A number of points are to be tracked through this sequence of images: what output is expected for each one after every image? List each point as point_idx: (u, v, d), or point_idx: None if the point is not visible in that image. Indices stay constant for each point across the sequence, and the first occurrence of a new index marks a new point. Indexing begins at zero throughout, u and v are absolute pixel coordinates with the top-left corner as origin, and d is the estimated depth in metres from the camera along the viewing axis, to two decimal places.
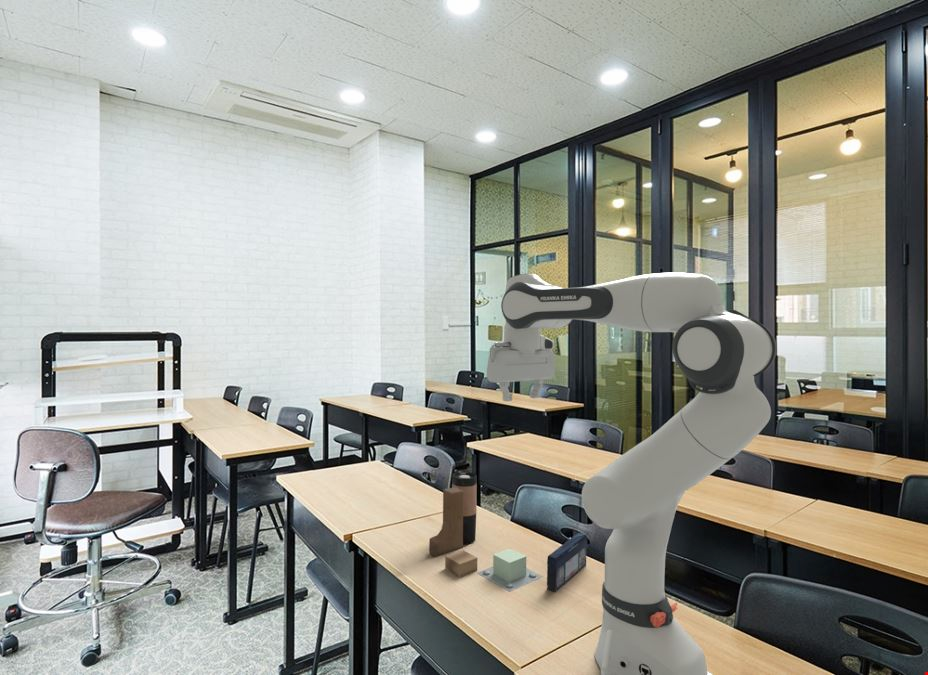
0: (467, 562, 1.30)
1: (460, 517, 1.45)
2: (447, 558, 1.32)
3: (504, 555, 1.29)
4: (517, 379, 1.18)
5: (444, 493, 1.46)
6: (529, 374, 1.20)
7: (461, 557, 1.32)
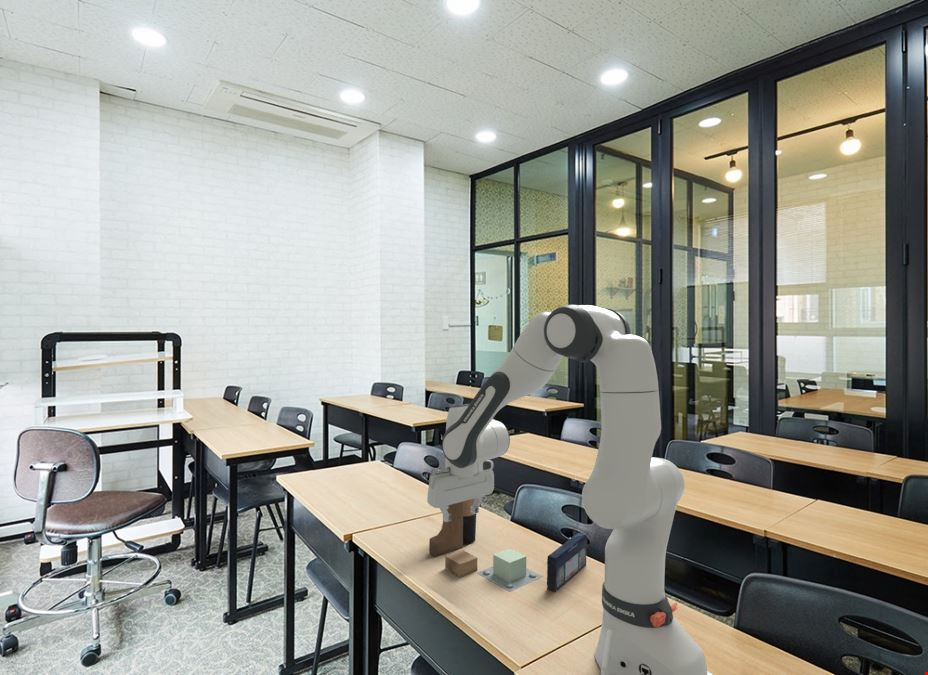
0: (467, 562, 1.30)
1: (460, 517, 1.45)
2: (447, 558, 1.32)
3: (504, 555, 1.29)
4: (455, 502, 1.29)
5: None
6: (468, 494, 1.31)
7: (461, 557, 1.32)
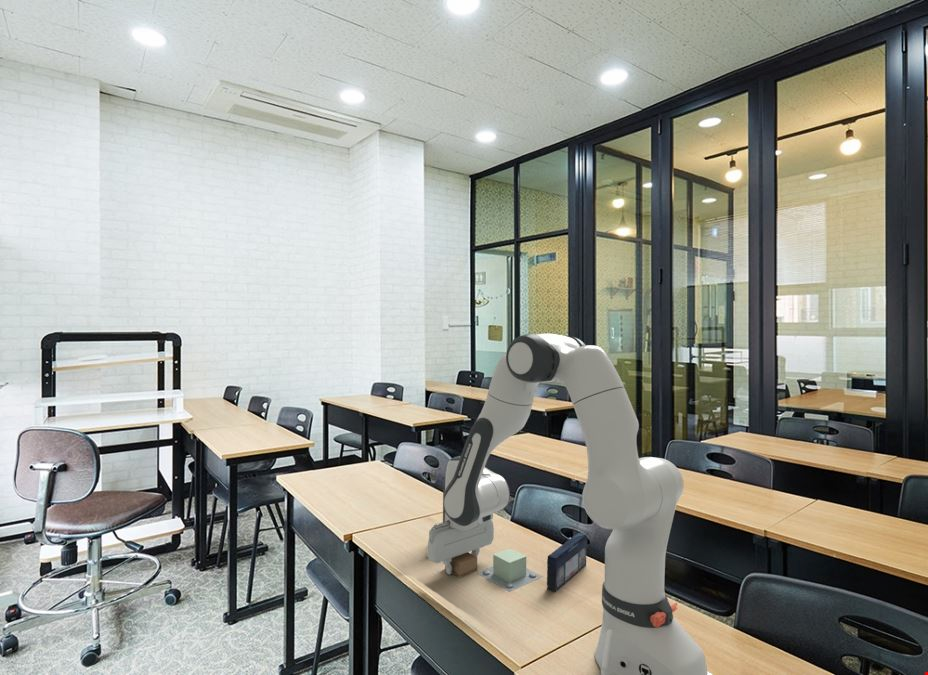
0: (467, 561, 1.30)
1: None
2: None
3: (504, 555, 1.29)
4: (455, 555, 1.29)
5: None
6: (467, 546, 1.31)
7: (461, 556, 1.32)
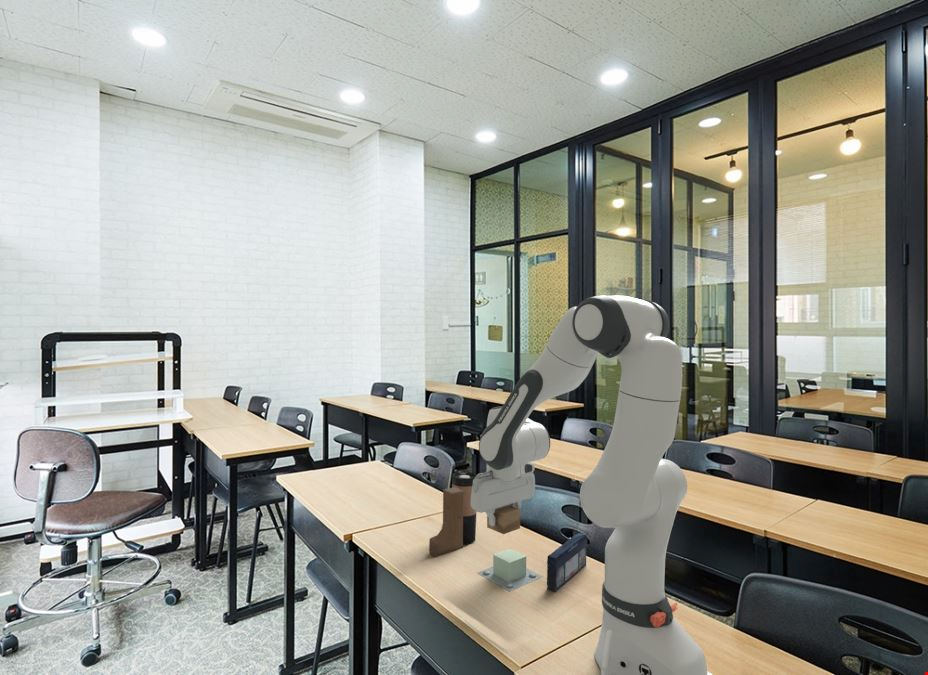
0: (510, 512, 1.27)
1: (460, 517, 1.45)
2: None
3: (504, 555, 1.29)
4: (499, 506, 1.26)
5: (444, 493, 1.46)
6: (510, 498, 1.29)
7: (503, 508, 1.29)
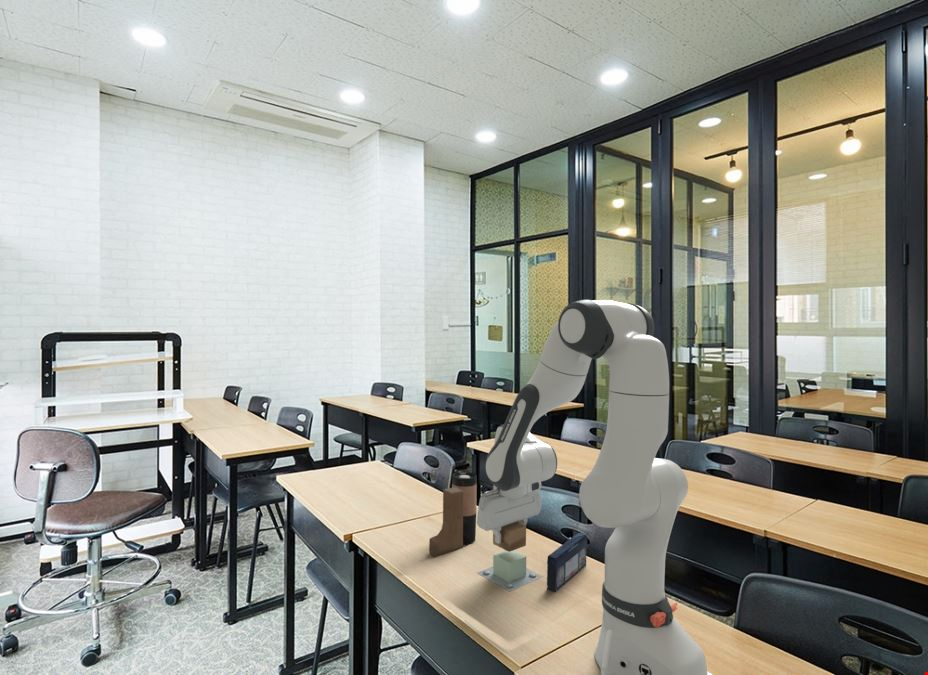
0: (516, 530, 1.27)
1: (460, 517, 1.45)
2: None
3: (504, 555, 1.29)
4: (505, 524, 1.26)
5: (444, 493, 1.46)
6: (517, 516, 1.29)
7: (509, 525, 1.29)
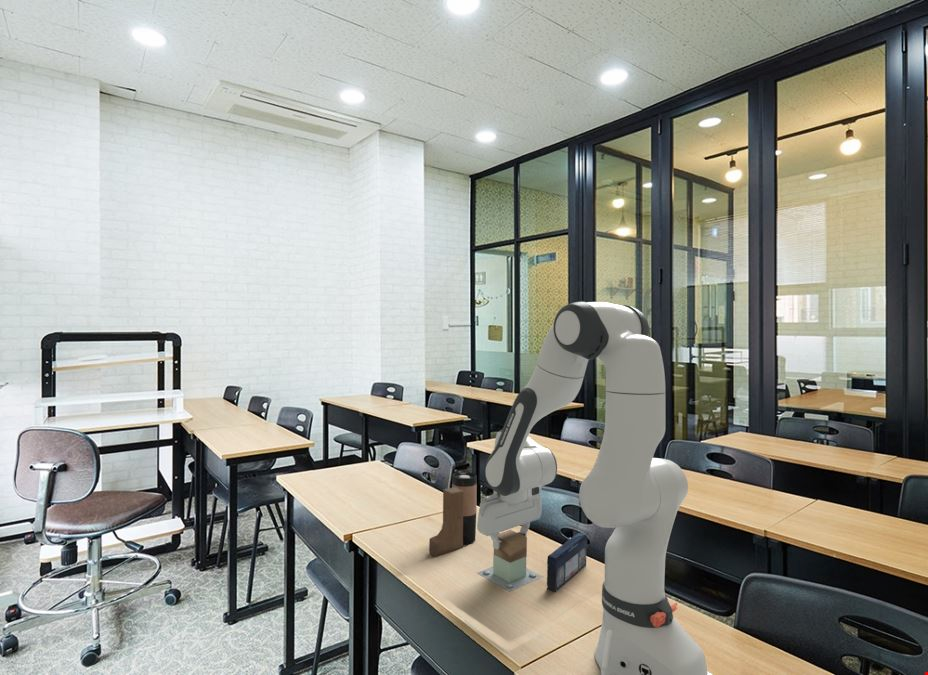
0: (517, 541, 1.27)
1: (460, 517, 1.45)
2: None
3: None
4: (505, 529, 1.26)
5: (444, 493, 1.46)
6: (517, 520, 1.29)
7: (510, 536, 1.29)
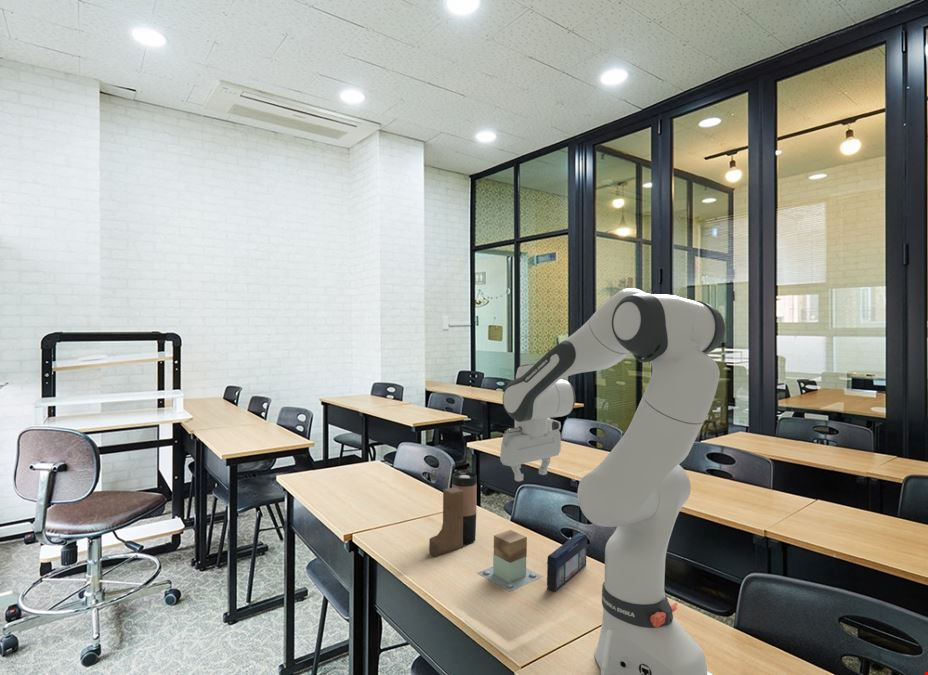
0: (517, 541, 1.27)
1: (460, 517, 1.45)
2: (496, 537, 1.29)
3: None
4: (527, 461, 1.29)
5: (444, 493, 1.46)
6: (538, 454, 1.31)
7: (510, 536, 1.29)
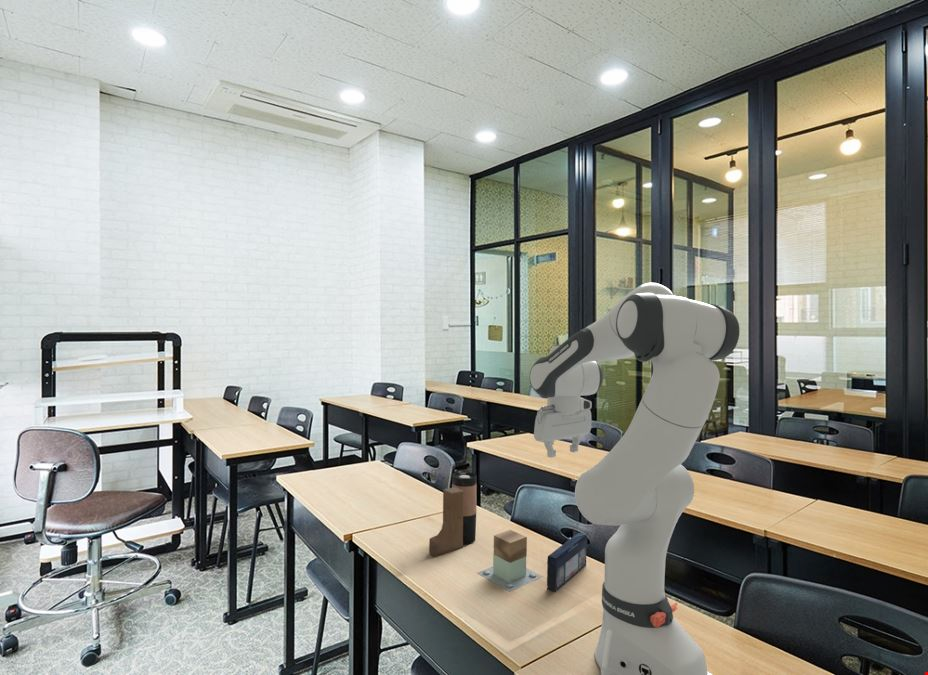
0: (517, 541, 1.27)
1: (460, 517, 1.45)
2: (496, 537, 1.29)
3: None
4: (560, 438, 1.33)
5: (444, 493, 1.46)
6: (570, 432, 1.36)
7: (510, 536, 1.29)
